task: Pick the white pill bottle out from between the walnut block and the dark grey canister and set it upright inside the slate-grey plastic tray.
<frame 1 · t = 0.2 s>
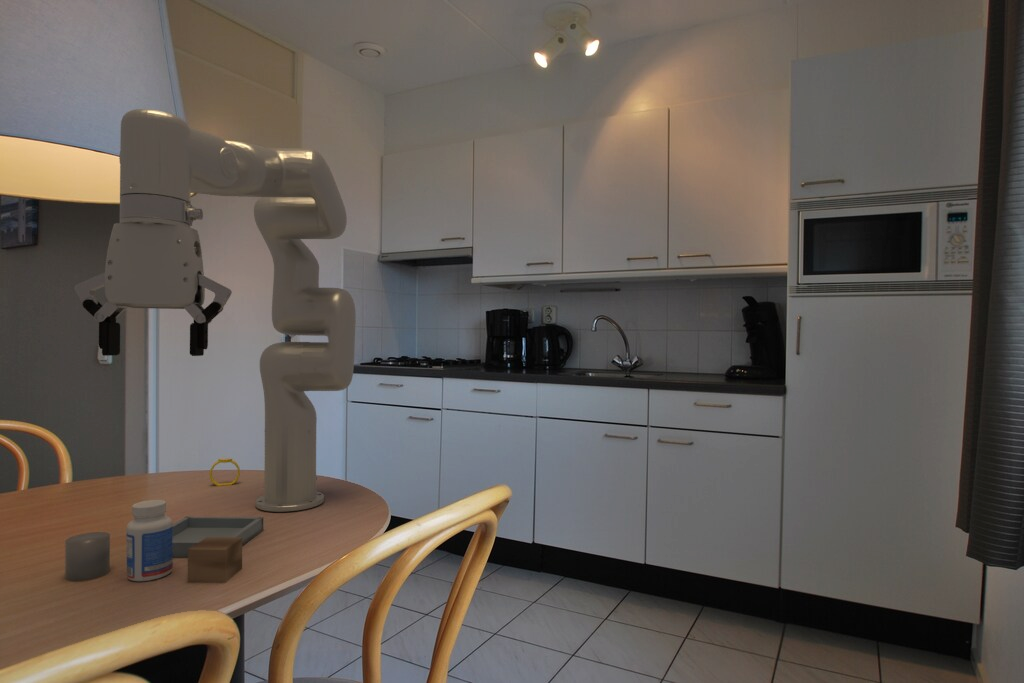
hand: (154, 355, 75), 30 cm above the table, tool pointing down, fingers open, 9 cm apart
grey canister: (87, 574, 83), on the table
pill bottle: (149, 576, 83), on the table
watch: (224, 485, 134), on the table
slate tray: (205, 542, 96), on the table
walnut block: (215, 576, 83), on the table
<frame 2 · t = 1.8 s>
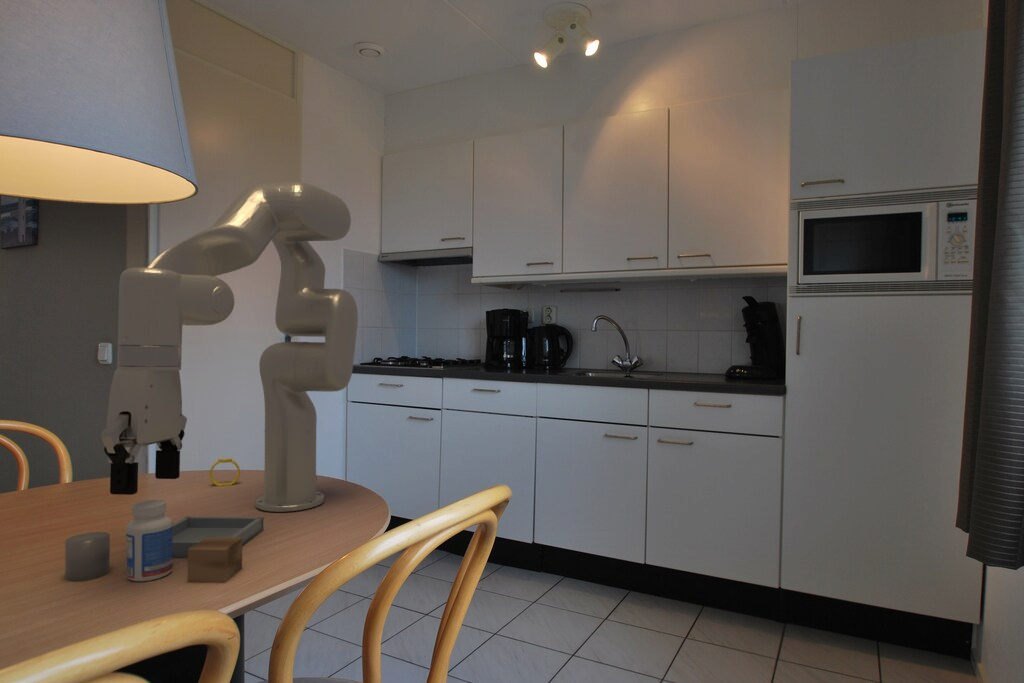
hand: (146, 485, 83), 12 cm above the table, tool pointing down, fingers open, 9 cm apart
nothing on the table moved.
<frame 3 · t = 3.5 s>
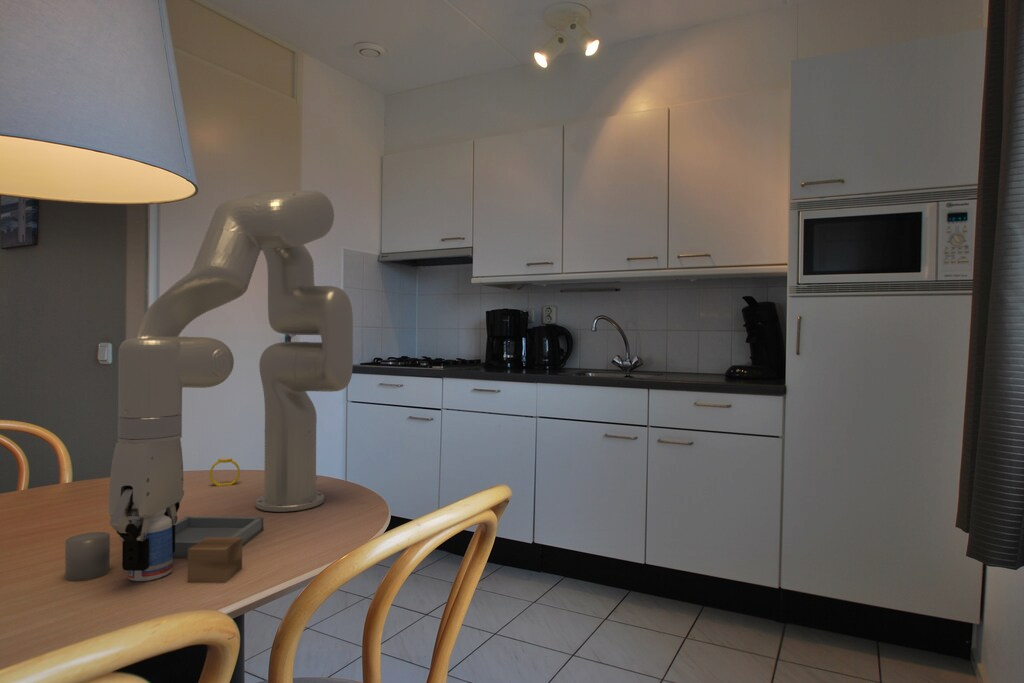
hand: (149, 559, 83), 2 cm above the table, tool pointing down, fingers closed on pill bottle, 5 cm apart
pill bottle: (149, 576, 83), on the table, touching gripper
everything else where it was.
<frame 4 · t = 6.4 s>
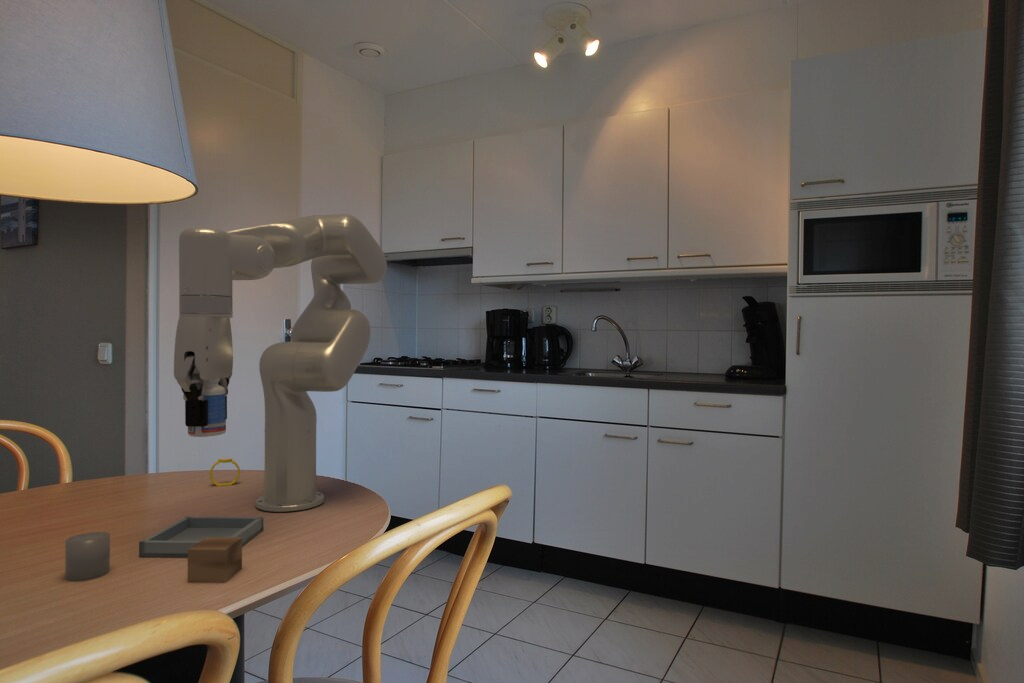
hand: (206, 421, 96), 19 cm above the table, tool pointing down, fingers closed on pill bottle, 5 cm apart
pill bottle: (206, 435, 96), point 17 cm above the table, touching gripper
everything else where it was.
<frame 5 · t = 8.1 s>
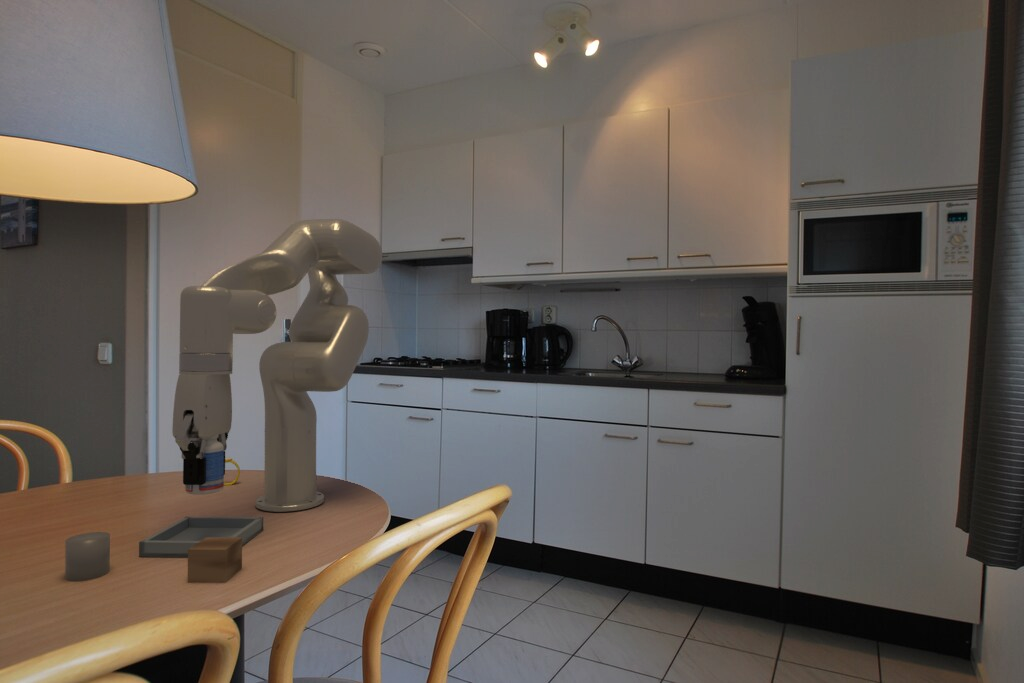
hand: (204, 478, 96), 10 cm above the table, tool pointing down, fingers closed on pill bottle, 5 cm apart
pill bottle: (204, 492, 96), point 8 cm above the table, touching gripper
everything else where it was.
when the fingers open (4 cm above the table, at t = 9.6 s): pill bottle drops 2 cm, resting on slate tray.
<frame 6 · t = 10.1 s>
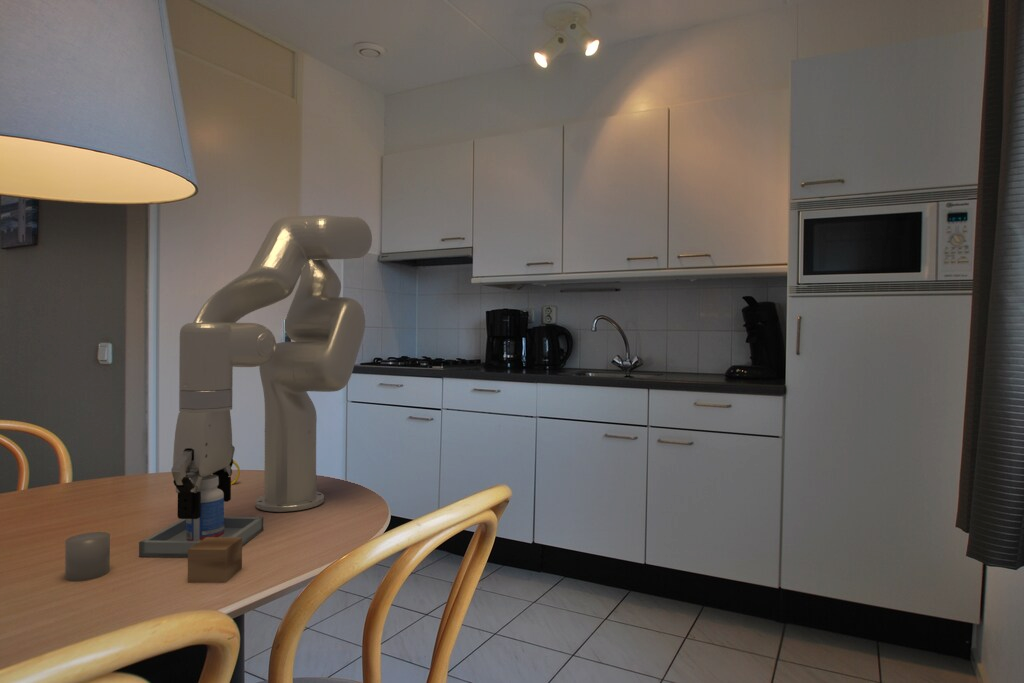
hand: (205, 509, 96), 5 cm above the table, tool pointing down, fingers open, 9 cm apart
pill bottle: (205, 540, 96), resting on slate tray
everything else where it was.
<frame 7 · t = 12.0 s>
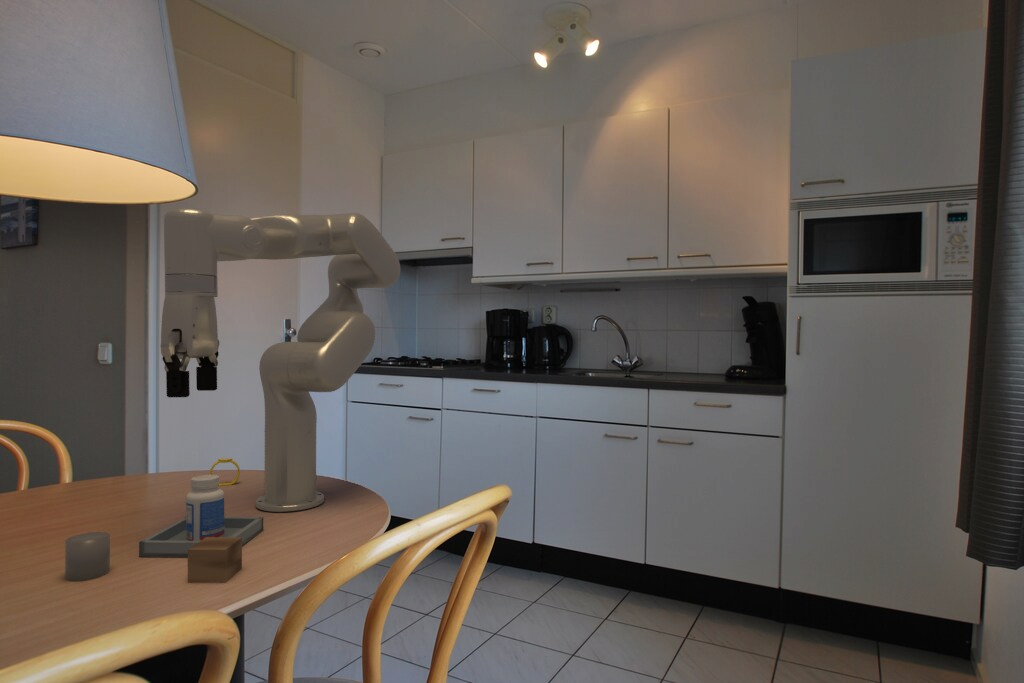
hand: (193, 393, 99), 23 cm above the table, tool pointing down, fingers open, 9 cm apart
nothing on the table moved.
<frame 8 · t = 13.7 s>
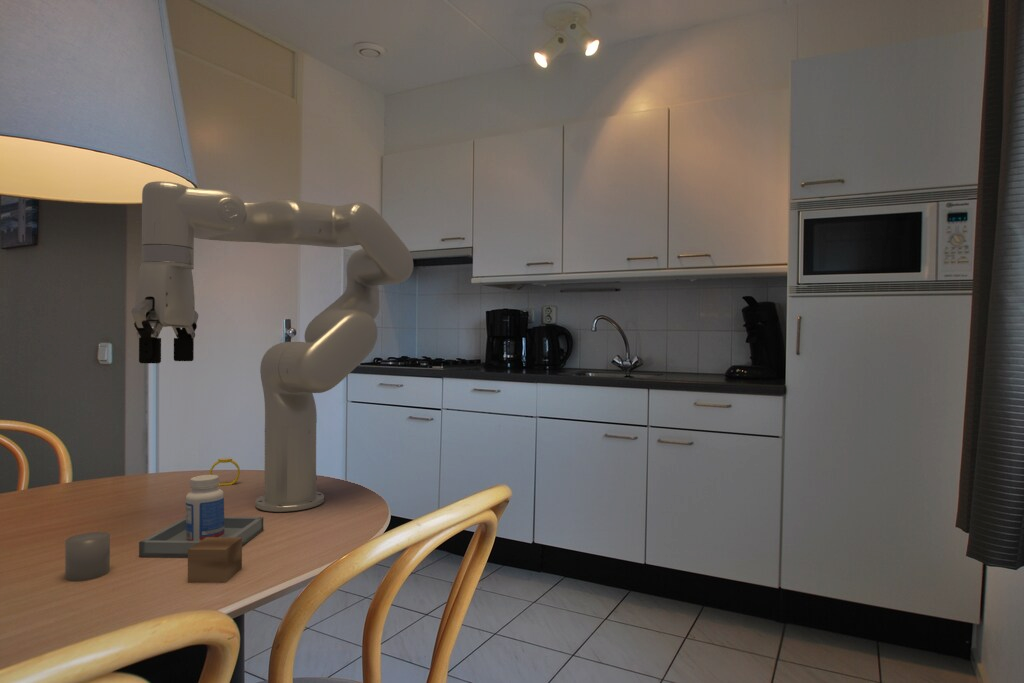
hand: (167, 362, 101), 28 cm above the table, tool pointing down, fingers open, 9 cm apart
nothing on the table moved.
at the end: pill bottle inside the target area on the slate tray (0.1 cm from its centre), point 0.4 cm above the slate tray's base; pill bottle tilted 0°; walnut block moved 0.2 cm from its start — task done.
